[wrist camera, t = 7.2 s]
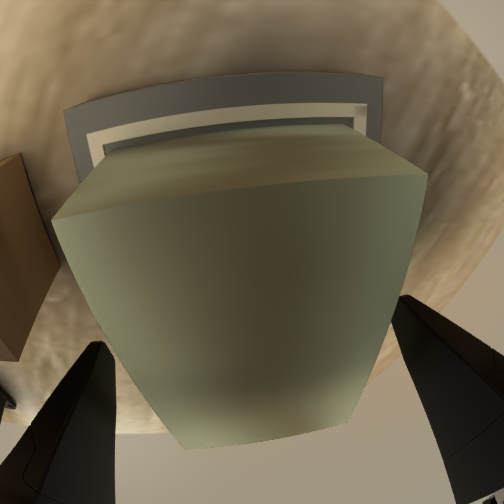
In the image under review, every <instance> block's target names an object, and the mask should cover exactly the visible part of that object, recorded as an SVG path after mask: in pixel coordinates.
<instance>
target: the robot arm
mask: <svg viewBox="0 0 504 504" xmlns="http://www.w3.org/2000/svg"><path fill="white" fill-rule="evenodd" d="M391 323H392V326H393V329H394V332H395V335H396V338H397V341H398V344H399V347H400V350H401V353H402V355H403V359H404V361H405V364H406V366H407V368H408V371H409V373H410V375H411V378H412V380H413V382H414V385H415V387H416V390H417V392H418V395H419V397H420V399H421V402H422V404H423V407H424V409H425V412H426V415H427V417H428V420H429V422H430V425H431V428H432V430H433V433H434V436H435V438H436V441H437V444H438V447H439V450H440V453H441V456H442V459H443V461H444V465H445V468H446V471H447V475H448V478H449V481H450V484H451V488H452V491H453V494H454V498H455V501H456V504H469V503H472V502H474V501H476V500H479V499H481V498H483V497H485V496H488V495H490V494H492V493H494V494H493V495H492V496H490V497H489V498H488V499H486V500H485V501H484V502H483V504H504V356H503V355H502V354H500V353H499V352H497V351H496V350H494V349H493V348H492V349H491V347H490V346H488V345H487V344H485V343H483V342H482V341H481V340H479V339H478V338H476V337H474V336H473V335H472V334H470V333H469V332H467V331H465V330H464V329H462V328H461V327H459V326H458V325H456V324H455V323H453V322H452V321H450V320H449V319H447V318H446V317H444V316H442V315H441V314H439V313H438V312H436V311H435V310H433V309H431V308H430V307H428V306H427V305H425V304H423V303H422V302H420V301H419V300H417V299H415V298H414V297H412V296H411V295H408V294H406V295H402V296H399V298H398V302H397V305H396V308H395V311H394V313H393V316H392V319H391ZM4 408H9V409H16V403H15V402H14V401H13V400H12V399H11V398H10V397H9V396H7V395H6V394H5V393H4V392H3V391H2V390H1V389H0V423H1V419H2V415H3V411H4ZM115 428H116V377H115V359H114V357H113V355H112V353H111V352H110V350H109V349H108V347H107V345H106V344H105V342H103V341H93V342H91V343H90V344H89V345H88V346H87V347H86V349H85V350H84V351H83V352H82V354H81V355H80V356H79V358H78V359H77V360H76V362H75V363H74V364H73V366H72V367H71V368H70V369H69V371H68V372H67V374H66V375H65V376H64V378H63V379H62V380H61V382H60V383H59V384H58V386H57V387H56V388H55V390H54V391H53V393H52V394H51V395H50V397H49V398H48V400H47V401H46V402H45V404H44V405H43V407H42V408H41V409H40V411H39V412H38V414H37V415H36V417H35V418H34V420H33V421H32V422H31V425H29V427H28V428H27V430H26V431H25V433H24V434H23V436H22V437H21V438H20V440H19V441H18V443H17V444H16V446H15V447H14V448H13V450H12V451H11V452H10V454H9V455H8V456H7V457H6V459H5V460H4V461H3V462H2V464H1V465H0V504H115Z"/></svg>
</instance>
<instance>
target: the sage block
mask: <svg viewBox="0 0 504 504" xmlns="http://www.w3.org/2000/svg"><path fill="white" fill-rule="evenodd" d="M428 176H429V174H427V173H426V172H424V171H423V170H421V169H420V168H418V167H417V166H415V165H414V164H412V163H410V162H409V161H407V160H406V159H404V158H402V157H401V156H399V155H398V154H396V153H394V152H393V151H391V150H389V149H388V148H386V147H384V146H382V145H381V144H379V143H377V142H375V141H374V140H372V139H370V138H368V137H366V136H365V135H363V134H361V133H359V132H357V131H355V130H354V129H352V128H350V127H348V126H346V125H344V124H312V125H289V126H273V127H260V128H249V129H239V130H229V131H221V132H212V133H205V134H198V135H191V136H184V137H178V138H172V139H166V140H160V141H154V142H149V143H144V144H139V145H134V146H129V147H124V148H120V149H115V150H111V151H110V152H109V153H108V154H107V155H106V156H105V157H104V158H103V159H102V160H101V161H100V162H99V164H98V165H97V166H96V167H95V168H94V169H93V170H92V171H91V172H90V174H89V175H88V176H87V177H86V178H85V179H84V180H83V182H82V183H81V184H80V185H79V186H78V187H77V189H76V190H75V191H74V192H73V193H72V195H71V196H70V197H69V198H68V199H67V201H66V202H65V203H64V204H63V206H62V207H61V208H60V209H59V211H58V212H57V213H56V215H55V216H54V217H53V218H52V220H51V222H52V225H53V228H54V230H55V233H56V235H57V238H58V240H59V243H60V245H61V247H62V250H63V252H64V254H65V257H66V259H67V261H68V264H69V266H70V268H71V270H72V272H73V275H74V277H75V279H76V281H77V283H78V285H79V287H80V289H81V291H82V293H83V295H84V297H85V299H86V301H87V303H88V305H89V307H90V309H91V311H92V313H93V315H94V317H95V318H96V320H97V322H98V324H99V326H100V327H101V329H102V331H103V333H104V335H105V336H106V338H107V340H108V342H109V343H110V345H111V347H112V348H113V350H114V352H115V353H116V355H117V357H118V358H119V360H120V361H121V363H122V365H123V366H124V368H125V369H126V371H127V372H128V374H129V376H130V377H131V379H132V380H133V382H134V383H135V385H136V386H137V388H138V389H139V390H140V392H141V393H142V395H143V396H144V398H145V399H146V401H147V402H148V403H149V405H150V406H151V407H152V409H153V410H154V412H155V413H156V414H157V416H158V417H159V418H160V420H161V421H162V422H163V424H164V425H165V426H166V428H167V429H168V430H169V431H170V433H171V434H172V435H173V436H174V438H175V439H176V440H177V441H178V443H179V444H180V445H181V446H182V447H183V449H202V448H213V447H224V446H233V445H240V444H248V443H255V442H262V441H268V440H274V439H279V438H284V437H289V436H294V435H299V434H304V433H308V432H312V431H317V430H321V429H325V428H329V427H333V426H337V425H340V424H344V423H348V421H349V419H350V416H351V415H352V412H353V411H354V409H355V406H356V404H357V402H358V400H359V398H360V396H361V394H362V391H363V389H364V387H365V385H366V383H367V380H368V378H369V376H370V373H371V371H372V369H373V366H374V364H375V361H376V359H377V356H378V354H379V351H380V349H381V346H382V344H383V341H384V338H385V336H386V333H387V330H388V328H389V325H390V322H391V319H392V316H393V313H394V311H395V308H396V305H397V302H398V298H399V295H400V292H401V289H402V286H403V282H404V279H405V276H406V272H407V269H408V265H409V262H410V258H411V254H412V250H413V247H414V243H415V239H416V234H417V230H418V226H419V222H420V217H421V212H422V208H423V203H424V198H425V193H426V187H427V181H428Z"/></svg>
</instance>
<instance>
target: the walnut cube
mask: <svg viewBox="0 0 504 504" xmlns="http://www.w3.org/2000/svg"><path fill="white" fill-rule="evenodd" d="M60 266H61V265H60V263H59V261H58V259H57V256H56V254H55V252H54V249H53V247H52V245H51V242H50V240H49V238H48V235H47V233H46V230H45V228H44V225H43V222H42V220H41V217H40V214H39V212H38V209H37V206H36V203H35V200H34V197H33V195H32V192H31V188H30V185H29V182H28V179H27V176H26V172H25V169H24V166H23V162H22V158H21V155H20V153H19V154H16V155H14V156H11V157H9V158H6V159H4V160H1V161H0V361H12V362H19V359H20V356H21V354H22V351H23V348H24V346H25V343H26V340H27V338H28V335H29V333H30V331H31V328H32V326H33V323H34V321H35V319H36V316H37V314H38V312H39V310H40V307H41V305H42V303H43V301H44V299H45V297H46V294H47V292H48V290H49V288H50V286H51V284H52V282H53V280H54V278H55V276H56V274H57V272H58V270H59V268H60Z"/></svg>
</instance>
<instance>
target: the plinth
mask: <svg viewBox="0 0 504 504" xmlns="http://www.w3.org/2000/svg"><path fill="white" fill-rule="evenodd" d="M382 110H383V78H382V77H376V76H370V75H364V74H354V73H339V72H307V71H291V72H259V73H243V74H231V75H221V76H211V77H203V78H195V79H188V80H182V81H175V82H169V83H164V84H158V85H153V86H148V87H143V88H138V89H134V90H129V91H125V92H121V93H117V94H113V95H109V96H105V97H101V98H98V99H94V100H91V101H87V102H84V103H81V104H78V105H76V106H73V107H71V108H69V109H66V110H64V111H63V112H64V117H65V122H66V127H67V131H68V136H69V140H70V145H71V149H72V153H73V157H74V161H75V165H76V168H77V172H78V176H79V179H80V183H82V182H83V180H84V179H85V178H86V177H87V176H88V175H89V174H90V172H91V171H92V170H93V169H94V168H95V167H96V166H97V165H98V164H99V162H100V161H101V160H102V159H103V158H104V157H105V156H106V155H107V154H108V153H109V152H110V151H111V150H115V149H120V148H124V147H129V146H134V145H139V144H144V143H149V142H154V141H160V140H166V139H172V138H178V137H184V136H191V135H198V134H205V133H212V132H221V131H229V130H239V129H249V128H260V127H273V126H289V125H312V124H344V125H346V126H348V127H350V128H352V129H354V130H355V131H357V132H359V133H361V134H363V135H365V136H366V137H368V138H370V139H372V140H374V141H375V142H377V143H379V144H380V142H381V128H382Z"/></svg>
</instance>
